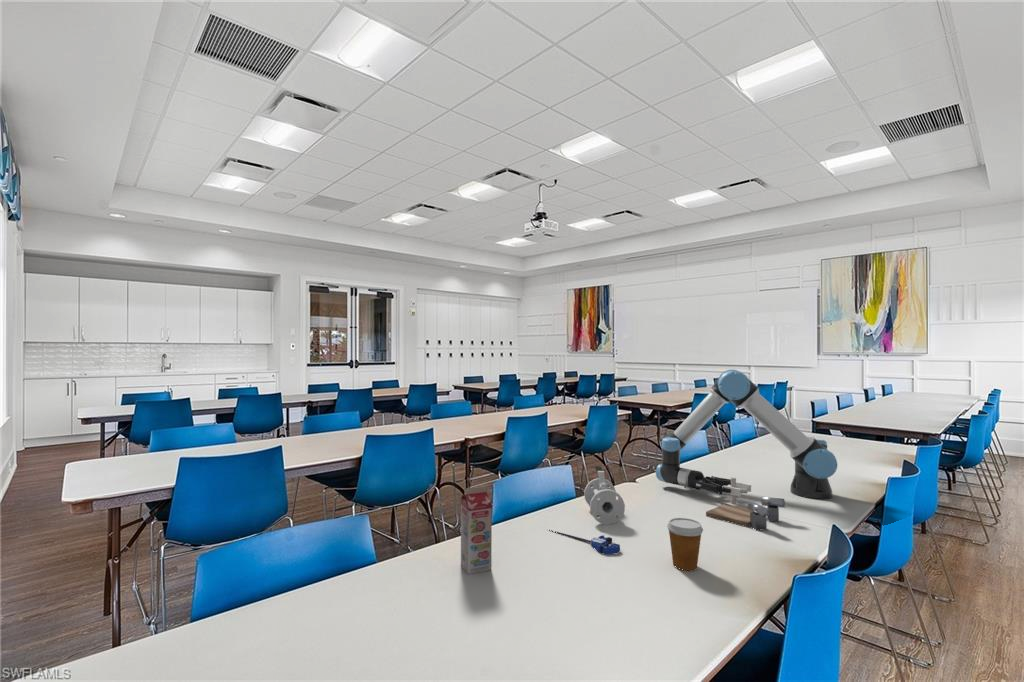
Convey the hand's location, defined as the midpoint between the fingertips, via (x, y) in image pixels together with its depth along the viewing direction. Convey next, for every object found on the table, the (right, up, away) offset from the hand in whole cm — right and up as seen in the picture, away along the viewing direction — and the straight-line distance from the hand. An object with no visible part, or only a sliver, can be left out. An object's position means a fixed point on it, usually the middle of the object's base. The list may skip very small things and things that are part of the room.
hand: (745, 490), depth 192 cm
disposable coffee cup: (-42, -5, -54) cm, 69 cm away
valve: (-57, -6, -10) cm, 58 cm away
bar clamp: (-70, -6, -33) cm, 78 cm away
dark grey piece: (-7, -6, -24) cm, 26 cm away
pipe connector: (-3, -6, +3) cm, 8 cm away
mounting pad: (-9, -6, -12) cm, 16 cm away
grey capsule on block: (+2, -6, -16) cm, 17 cm away
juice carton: (-100, -5, -55) cm, 115 cm away
